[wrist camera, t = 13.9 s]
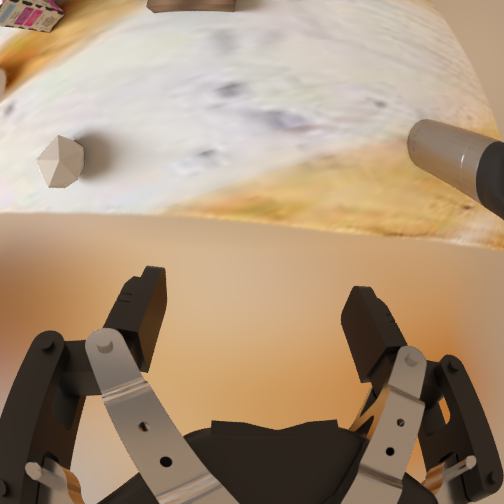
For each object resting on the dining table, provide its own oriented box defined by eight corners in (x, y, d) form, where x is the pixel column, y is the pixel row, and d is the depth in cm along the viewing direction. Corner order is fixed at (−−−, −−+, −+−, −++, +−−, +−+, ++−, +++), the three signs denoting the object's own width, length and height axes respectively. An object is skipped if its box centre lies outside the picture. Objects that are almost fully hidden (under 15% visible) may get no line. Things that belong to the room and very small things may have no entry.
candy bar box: (67, 12, 23) (7, -3, 9) (49, 33, 24) (-14, 27, 10) (45, -9, 18) (-9, -22, 4) (29, 11, 19) (-28, 4, 5)
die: (97, 133, 36) (48, 123, 28) (95, 183, 37) (42, 178, 28) (75, 151, 40) (31, 144, 31) (73, 195, 40) (27, 193, 32)
